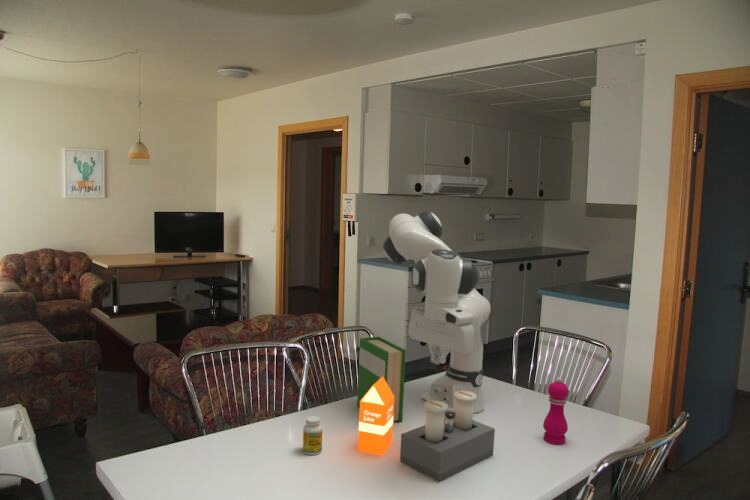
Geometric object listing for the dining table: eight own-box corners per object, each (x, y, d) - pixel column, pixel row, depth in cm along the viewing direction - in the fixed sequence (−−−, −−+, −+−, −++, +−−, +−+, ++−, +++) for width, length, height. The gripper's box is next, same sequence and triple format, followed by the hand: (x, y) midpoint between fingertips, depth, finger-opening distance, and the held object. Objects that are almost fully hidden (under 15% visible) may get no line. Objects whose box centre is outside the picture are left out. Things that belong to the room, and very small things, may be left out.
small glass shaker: (441, 430, 158) (442, 412, 158) (448, 428, 160) (449, 410, 160) (449, 434, 156) (451, 416, 156) (456, 431, 158) (457, 413, 158)
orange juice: (392, 443, 167) (395, 377, 165) (383, 455, 159) (386, 386, 157) (367, 438, 170) (370, 373, 168) (357, 450, 162) (360, 382, 160)
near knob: (417, 439, 154) (419, 402, 153) (432, 433, 158) (434, 397, 157) (435, 447, 149) (437, 409, 148) (450, 441, 154) (452, 404, 153)
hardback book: (402, 422, 183) (405, 350, 181) (382, 425, 180) (385, 352, 177) (376, 403, 199) (379, 336, 196) (357, 406, 195) (360, 338, 193)
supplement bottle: (317, 445, 164) (318, 413, 163) (324, 453, 159) (325, 420, 158) (299, 449, 161) (300, 416, 160) (306, 457, 156) (307, 423, 155)
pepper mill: (568, 446, 170) (573, 382, 168) (543, 443, 172) (548, 379, 170) (565, 436, 177) (570, 375, 175) (541, 434, 179) (545, 372, 177)
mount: (399, 461, 156) (401, 434, 155) (454, 438, 172) (456, 413, 172) (439, 482, 146) (440, 452, 145) (493, 455, 162) (494, 428, 162)
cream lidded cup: (447, 427, 163) (449, 392, 162) (461, 421, 167) (463, 388, 166) (465, 434, 158) (467, 399, 157) (478, 428, 163) (481, 394, 162)
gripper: (404, 305, 156) (402, 354, 157) (464, 319, 141) (460, 373, 142) (420, 303, 160) (417, 350, 161) (479, 316, 145) (476, 369, 147)
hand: (438, 361), depth 152 cm, fingers closed
